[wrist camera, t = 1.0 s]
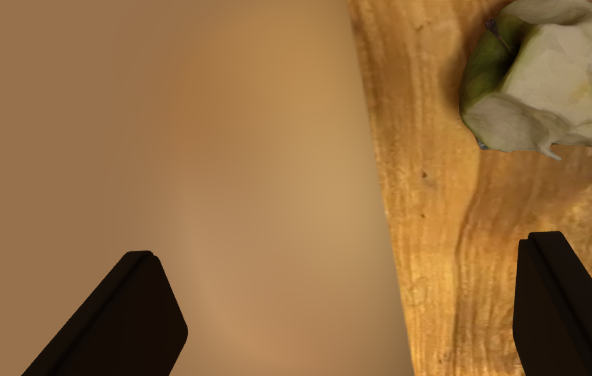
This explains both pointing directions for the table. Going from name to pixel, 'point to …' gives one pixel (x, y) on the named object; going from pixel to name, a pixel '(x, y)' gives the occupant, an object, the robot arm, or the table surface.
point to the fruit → (531, 78)
